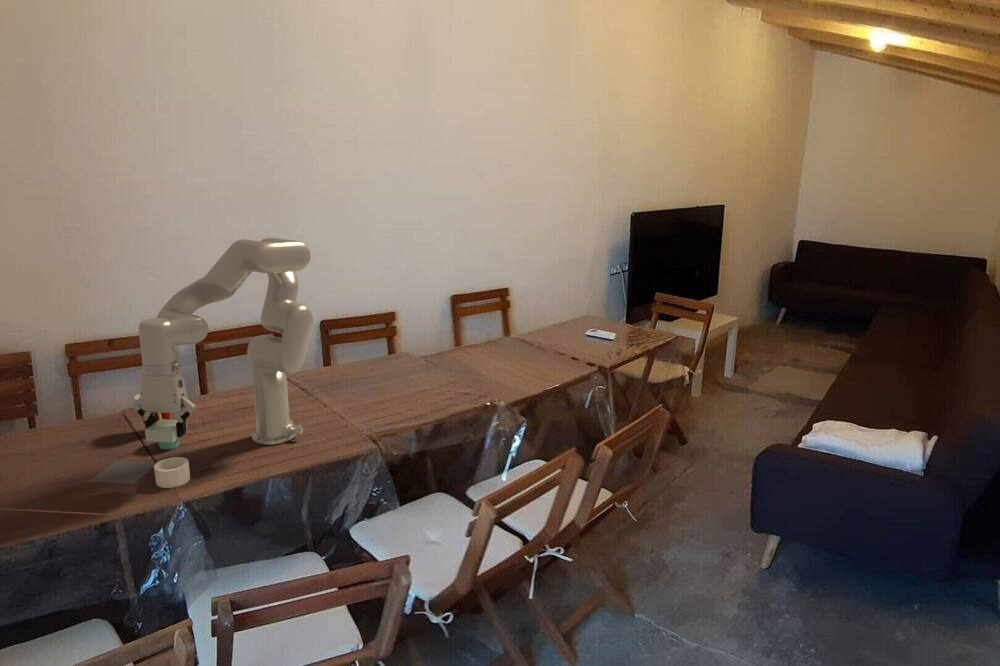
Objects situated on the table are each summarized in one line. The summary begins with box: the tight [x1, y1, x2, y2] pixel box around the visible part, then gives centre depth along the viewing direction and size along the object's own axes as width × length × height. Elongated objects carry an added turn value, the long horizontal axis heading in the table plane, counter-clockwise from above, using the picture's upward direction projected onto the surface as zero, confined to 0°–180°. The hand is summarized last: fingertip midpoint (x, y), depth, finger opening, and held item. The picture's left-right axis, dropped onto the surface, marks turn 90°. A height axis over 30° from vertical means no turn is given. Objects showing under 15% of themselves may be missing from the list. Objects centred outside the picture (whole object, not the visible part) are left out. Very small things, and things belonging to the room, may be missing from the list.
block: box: [144, 419, 188, 442], centre depth 169 cm, size 7×7×3 cm
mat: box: [88, 460, 157, 485], centre depth 177 cm, size 12×12×1 cm
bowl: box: [153, 456, 191, 489], centre depth 173 cm, size 8×8×5 cm
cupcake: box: [157, 412, 183, 450], centre depth 192 cm, size 9×8×12 cm
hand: (167, 433), depth 170 cm, fingers closed on block, 7 cm apart
